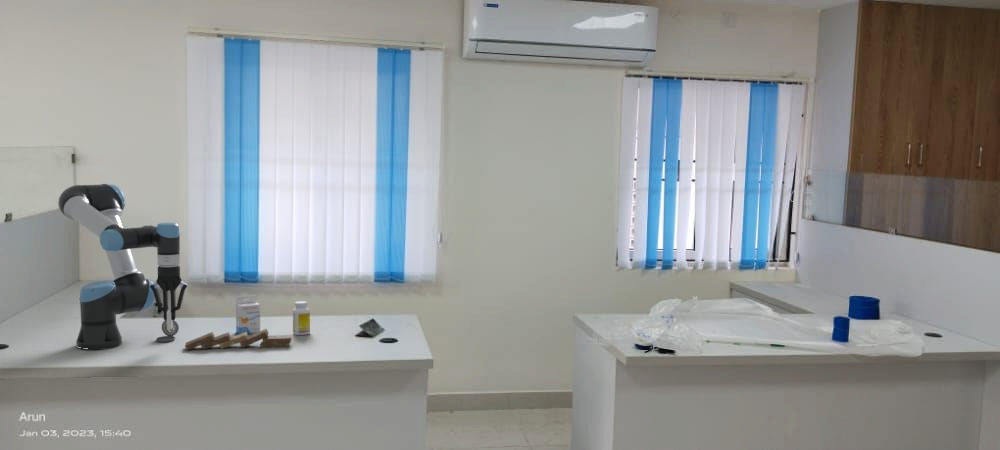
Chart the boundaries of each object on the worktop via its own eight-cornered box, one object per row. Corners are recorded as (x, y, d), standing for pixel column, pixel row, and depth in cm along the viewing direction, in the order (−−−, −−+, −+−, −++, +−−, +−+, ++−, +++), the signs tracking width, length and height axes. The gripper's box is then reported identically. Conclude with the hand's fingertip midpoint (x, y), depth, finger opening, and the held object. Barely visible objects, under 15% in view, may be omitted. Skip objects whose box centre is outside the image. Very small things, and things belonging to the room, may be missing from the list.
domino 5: (260, 344, 294) (287, 343, 296) (261, 341, 299) (288, 340, 301) (260, 349, 294) (287, 348, 296) (261, 346, 299) (289, 345, 301)
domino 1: (184, 345, 288) (211, 334, 291) (186, 342, 293) (212, 331, 295) (186, 350, 289) (213, 339, 291) (188, 347, 293) (214, 336, 296)
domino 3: (239, 343, 293) (265, 331, 295) (241, 340, 298) (266, 328, 299) (242, 348, 294) (267, 336, 295) (243, 344, 298) (268, 333, 300)
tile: (218, 344, 291) (245, 334, 294) (220, 340, 296) (246, 331, 298) (220, 349, 292) (247, 339, 294) (221, 345, 297) (248, 336, 299)
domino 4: (262, 339, 294) (290, 338, 296) (264, 335, 299) (291, 334, 301) (262, 344, 294) (290, 343, 296) (264, 340, 299) (291, 340, 301)
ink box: (239, 335, 313) (238, 298, 312) (236, 332, 318) (235, 296, 316) (260, 332, 318) (260, 296, 317) (257, 330, 322) (256, 294, 321)
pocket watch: (157, 343, 299) (156, 317, 298) (155, 338, 306) (154, 313, 305) (180, 341, 302) (179, 315, 301) (178, 336, 310) (177, 311, 309)
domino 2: (201, 345, 290) (228, 335, 292) (202, 341, 295) (228, 332, 297) (203, 349, 290) (230, 340, 293) (204, 346, 295) (230, 336, 297)
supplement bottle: (313, 332, 319) (313, 301, 318) (302, 336, 313) (302, 304, 312) (300, 330, 322) (299, 300, 320) (289, 334, 316) (289, 302, 314)
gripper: (147, 267, 283) (148, 331, 285) (185, 267, 285) (186, 330, 288) (152, 263, 290) (153, 326, 292) (189, 263, 292) (190, 325, 295)
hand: (169, 328), depth 290 cm, fingers closed
